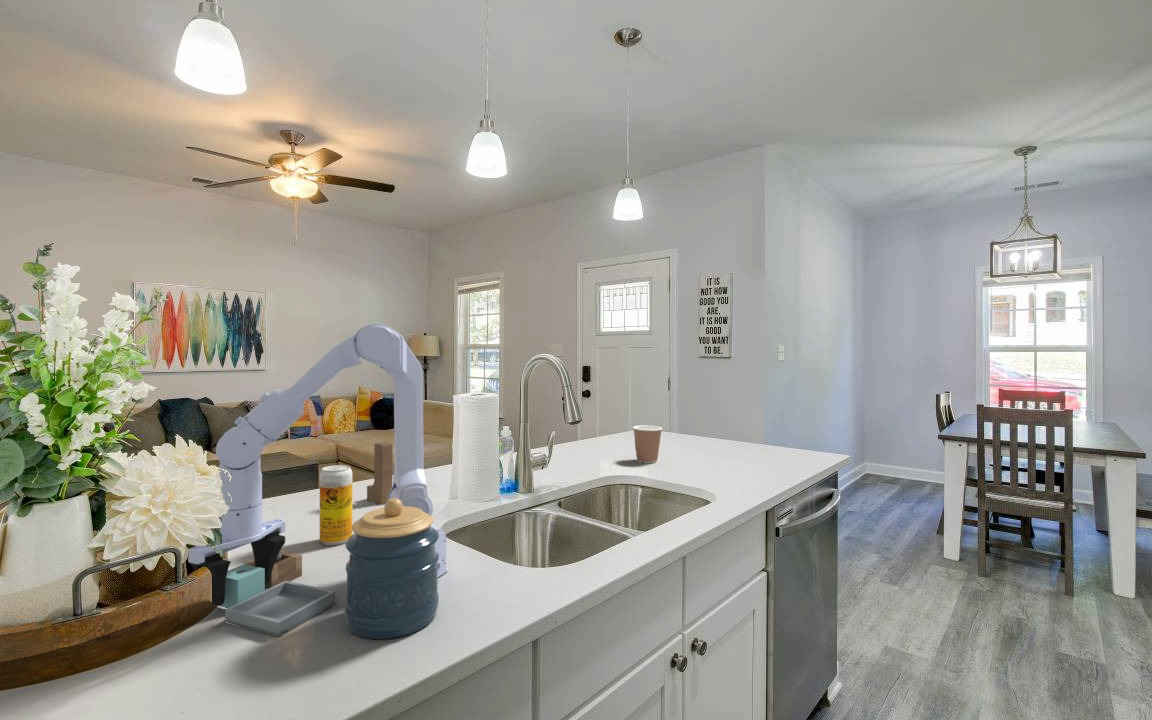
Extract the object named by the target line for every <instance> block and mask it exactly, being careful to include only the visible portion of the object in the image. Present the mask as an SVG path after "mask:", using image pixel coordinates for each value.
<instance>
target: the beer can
mask: <svg viewBox="0 0 1152 720" xmlns="http://www.w3.org/2000/svg"><path fill="white" fill-rule="evenodd" d="M352 525H353V471H352V469H351V465H346V464H338V465H337V464H335V465H329V466H328V465H327V466H325V467H322V468H321V471H320V473H319V540H320V541H321V542H322V544H323V545H325V546H339V545H344V544H346V541H347V540H348V538H349V537H351V536H352V535H353V530H352Z"/></svg>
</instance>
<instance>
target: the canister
mask: <svg viewBox="0 0 1152 720" xmlns="http://www.w3.org/2000/svg"><path fill="white" fill-rule="evenodd" d="M433 523H434V518H433V515H431V516H430V515H429V514H427V513H425V512H423V511H422V510H421V509H419V508H416V507H410V506H403V504H402V502H401V501H400V500H399V499H397V498H392V499H389V500H388V501H387V502H386V503H385V504H384V506H383V507H381V508H376V509H372V510H371V511H368V512H366V513H365V514H363V516H362V517H360V518H358V519H357V520H355V522H352V536H351V537H349V538H348V540H347V541H346V543H344V544H345V546H344V547H345V549H346V550H347V552H349V557H348V559H349V560H348V561H347V562H346V564H345V571H346V605H345V609H344V610H345V613H344V614H345V620H346V622H347V623H346V624H347V628H348V629H349V631H350V632H351V633H353V634H355V635H356V636H358V637H361V638H364V639H371V640H372V639H374V640H387V639H394V638H400V637H404V636H407V635H411V634H413V633H415V632H418V631H421V629H423V628H425V627H426V626H428V625H429V624H431V622H432V621H433V620H434V619H435V618H436V616H437V612H438V611H437V610H438V607H439V593H438V578H437V571H438V560H439V556H438V553H437V552H436V550H435V543H436V542H437V540H438V538H439V533H438V531H437V530H436V529H434V528H433V527H431V525H432V524H433Z"/></svg>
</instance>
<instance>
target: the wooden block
mask: <svg viewBox="0 0 1152 720" xmlns="http://www.w3.org/2000/svg"><path fill="white" fill-rule="evenodd" d="M393 445H394V444H393V443H392V442H391V443H390V442H385V441H383V442H377V443H374V445H373V447H374V450H373V451H374V453H373V455H374V457H373V458H374V461H373V463H374V464H373V465H374V466H373V471H374V472H373V474H374V475H373V480H374V482H373V484H370V485H367V486H366V500H367V501H369V502H373V503H375V504H378V505H381V504H382V505H385V503H386V502H387V501H388V495H389V492H390V490H391V488H392V486H393V457H394V456H393V454H394V452H393V449H394V448H393V447H394V446H393Z"/></svg>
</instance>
